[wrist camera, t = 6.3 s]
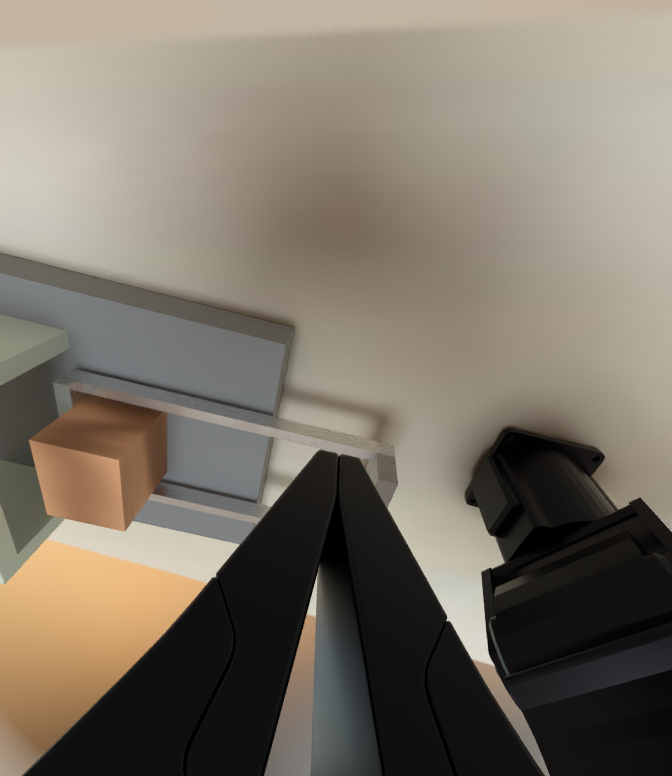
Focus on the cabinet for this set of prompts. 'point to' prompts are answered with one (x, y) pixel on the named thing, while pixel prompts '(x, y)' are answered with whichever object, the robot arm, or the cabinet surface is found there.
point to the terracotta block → (101, 461)
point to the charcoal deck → (152, 379)
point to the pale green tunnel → (16, 481)
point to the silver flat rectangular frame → (379, 454)
